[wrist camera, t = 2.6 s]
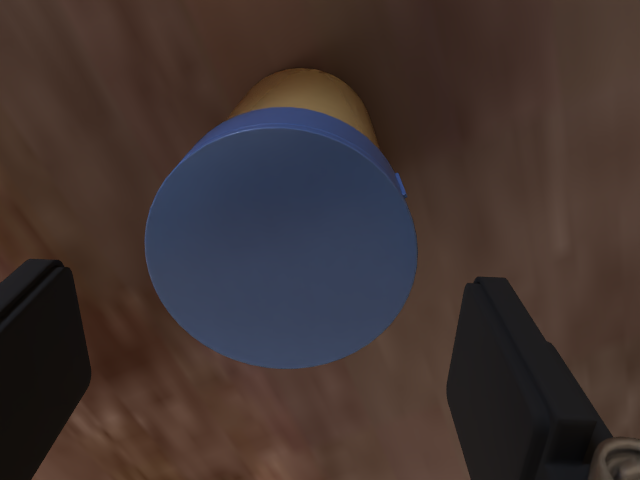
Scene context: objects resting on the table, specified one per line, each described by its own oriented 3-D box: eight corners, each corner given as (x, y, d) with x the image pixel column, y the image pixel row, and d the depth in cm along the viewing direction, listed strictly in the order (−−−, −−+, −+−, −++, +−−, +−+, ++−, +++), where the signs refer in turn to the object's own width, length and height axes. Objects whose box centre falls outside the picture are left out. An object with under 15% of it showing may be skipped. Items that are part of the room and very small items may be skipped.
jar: (332, 39, 21) (336, 81, 11) (396, 170, 24) (444, 299, 14) (204, 111, 23) (107, 205, 13) (276, 227, 25) (242, 382, 15)
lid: (342, 56, 13) (344, 68, 11) (444, 268, 15) (461, 310, 13) (120, 177, 14) (86, 208, 12) (248, 352, 17) (237, 401, 15)
